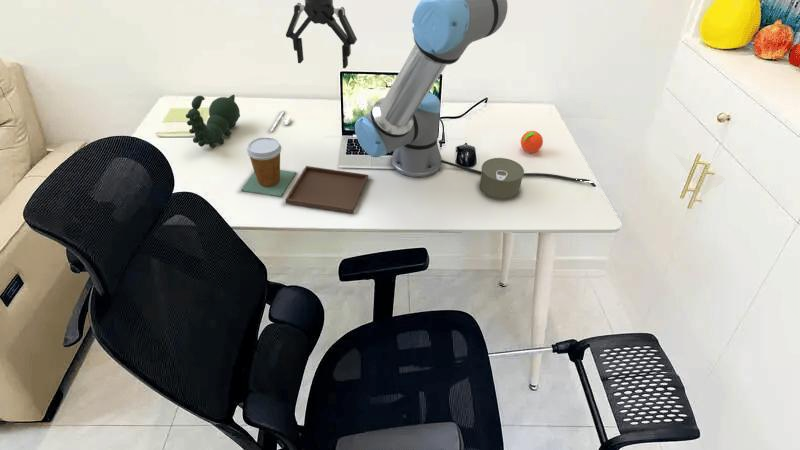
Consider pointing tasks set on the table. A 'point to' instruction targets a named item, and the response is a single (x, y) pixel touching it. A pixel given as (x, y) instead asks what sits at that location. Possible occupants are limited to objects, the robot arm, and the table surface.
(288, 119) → the picture light
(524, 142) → the clementine
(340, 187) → the tray
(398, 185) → the table surface
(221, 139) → the toy figurine
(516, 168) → the can
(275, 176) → the disposable coffee cup
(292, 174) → the mat
